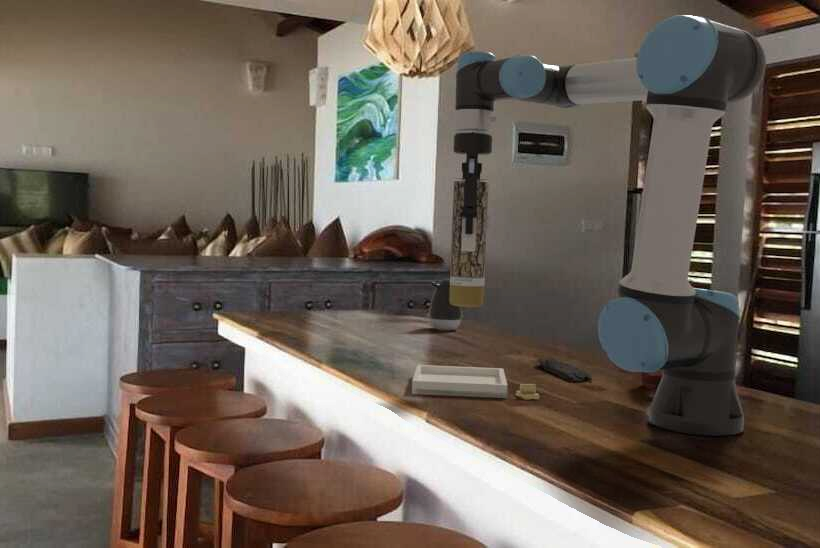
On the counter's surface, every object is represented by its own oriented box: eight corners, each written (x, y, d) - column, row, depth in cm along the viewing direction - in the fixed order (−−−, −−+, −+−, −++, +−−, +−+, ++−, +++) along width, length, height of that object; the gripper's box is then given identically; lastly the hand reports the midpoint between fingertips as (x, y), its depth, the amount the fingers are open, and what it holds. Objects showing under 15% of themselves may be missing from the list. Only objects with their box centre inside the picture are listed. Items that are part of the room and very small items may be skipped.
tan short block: (539, 400, 162) (539, 386, 162) (524, 401, 161) (525, 386, 161) (530, 396, 166) (530, 382, 166) (515, 396, 165) (516, 382, 165)
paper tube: (480, 308, 167) (486, 179, 165) (446, 306, 168) (451, 178, 166) (485, 304, 173) (490, 180, 171) (452, 303, 175) (457, 179, 173)
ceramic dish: (506, 398, 162) (507, 385, 162) (411, 393, 163) (412, 380, 163) (502, 380, 180) (503, 368, 179) (417, 376, 181) (417, 364, 181)
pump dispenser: (421, 327, 261) (423, 277, 260) (452, 326, 265) (453, 277, 264) (436, 332, 251) (438, 280, 250) (468, 331, 256) (469, 280, 255)
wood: (604, 385, 181) (605, 370, 181) (572, 385, 179) (573, 370, 179) (559, 366, 202) (560, 353, 202) (530, 366, 200) (531, 353, 200)
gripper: (493, 129, 158) (487, 253, 160) (491, 138, 178) (486, 249, 179) (452, 127, 159) (447, 251, 160) (455, 137, 178) (451, 247, 180)
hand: (468, 250), depth 170 cm, fingers closed on paper tube, 7 cm apart
